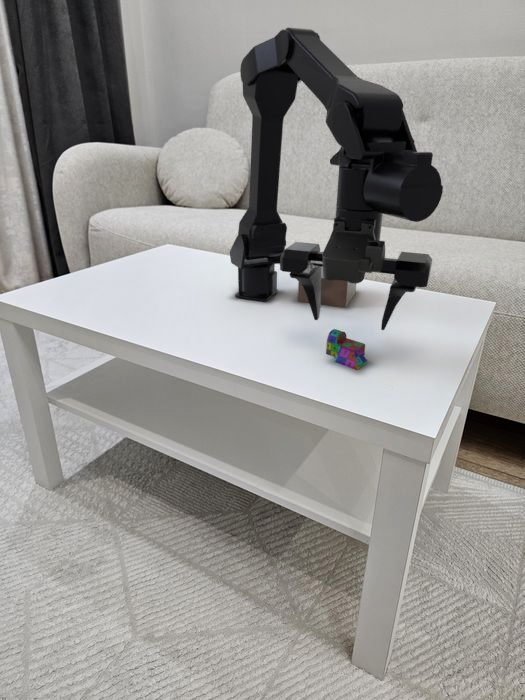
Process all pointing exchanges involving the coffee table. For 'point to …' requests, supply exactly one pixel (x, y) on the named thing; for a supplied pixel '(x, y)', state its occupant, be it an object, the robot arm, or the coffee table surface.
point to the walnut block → (331, 292)
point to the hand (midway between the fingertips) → (349, 324)
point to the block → (345, 350)
